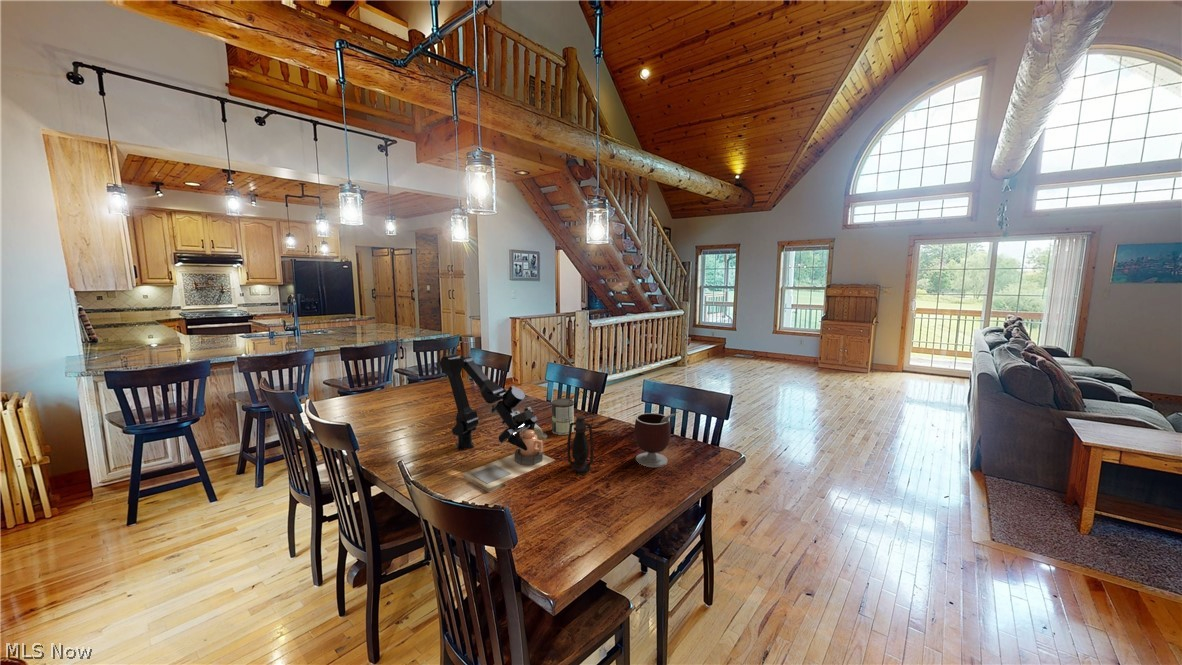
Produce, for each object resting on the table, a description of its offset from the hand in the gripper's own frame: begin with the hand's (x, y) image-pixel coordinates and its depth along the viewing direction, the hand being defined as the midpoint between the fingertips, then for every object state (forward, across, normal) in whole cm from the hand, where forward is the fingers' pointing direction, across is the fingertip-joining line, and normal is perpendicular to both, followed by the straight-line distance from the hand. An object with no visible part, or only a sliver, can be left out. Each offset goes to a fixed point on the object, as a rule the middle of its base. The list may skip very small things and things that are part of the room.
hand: (531, 446), depth 162 cm
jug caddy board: (+2, -8, +7) cm, 11 cm away
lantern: (+18, +4, -8) cm, 20 cm away
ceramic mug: (-4, +20, +14) cm, 25 cm away
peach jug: (+4, 0, +4) cm, 5 cm away
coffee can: (0, +35, +10) cm, 36 cm away
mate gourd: (+33, +25, -24) cm, 48 cm away
